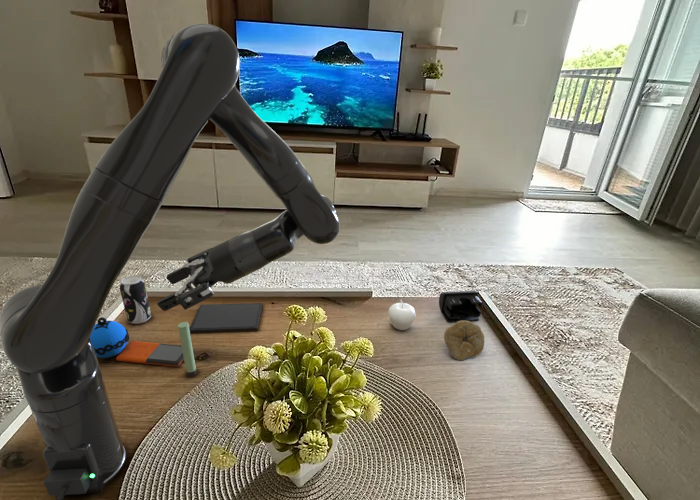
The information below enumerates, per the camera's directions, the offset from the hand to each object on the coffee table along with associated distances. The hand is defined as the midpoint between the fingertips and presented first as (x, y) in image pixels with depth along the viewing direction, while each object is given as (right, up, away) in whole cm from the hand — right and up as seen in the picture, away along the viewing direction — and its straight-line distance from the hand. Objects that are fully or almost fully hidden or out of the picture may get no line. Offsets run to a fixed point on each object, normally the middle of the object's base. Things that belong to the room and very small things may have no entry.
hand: (165, 292), depth 76 cm
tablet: (+3, -10, +31) cm, 33 cm away
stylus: (+1, -19, +11) cm, 22 cm away
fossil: (+63, -17, +21) cm, 68 cm away
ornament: (-20, -16, +17) cm, 31 cm away
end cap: (+66, -10, +36) cm, 76 cm away
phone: (-10, -17, +17) cm, 26 cm away
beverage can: (-20, -10, +30) cm, 38 cm away
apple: (+49, -12, +30) cm, 59 cm away
